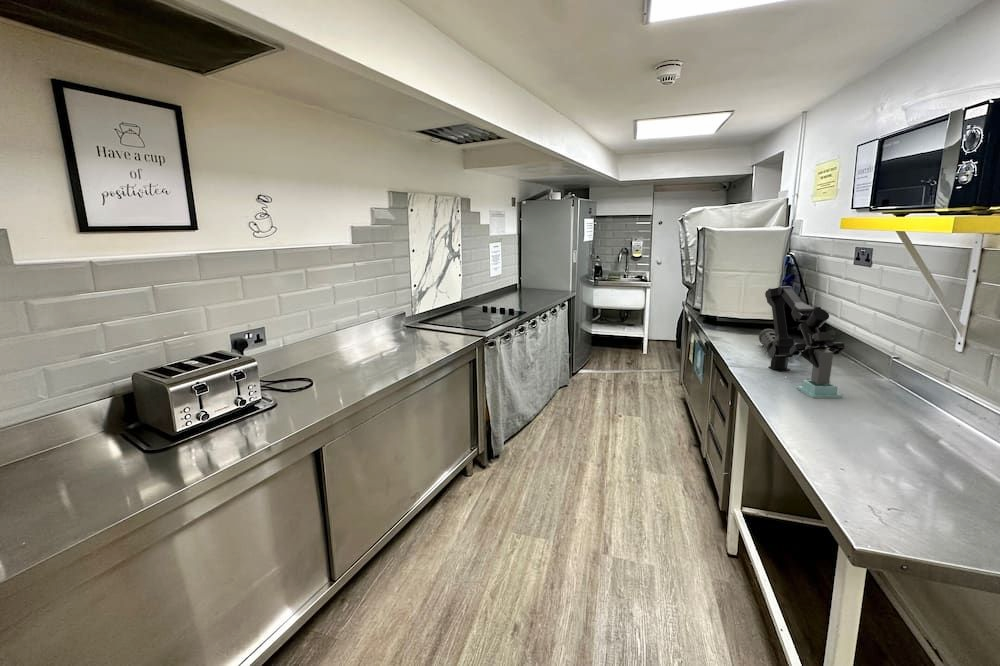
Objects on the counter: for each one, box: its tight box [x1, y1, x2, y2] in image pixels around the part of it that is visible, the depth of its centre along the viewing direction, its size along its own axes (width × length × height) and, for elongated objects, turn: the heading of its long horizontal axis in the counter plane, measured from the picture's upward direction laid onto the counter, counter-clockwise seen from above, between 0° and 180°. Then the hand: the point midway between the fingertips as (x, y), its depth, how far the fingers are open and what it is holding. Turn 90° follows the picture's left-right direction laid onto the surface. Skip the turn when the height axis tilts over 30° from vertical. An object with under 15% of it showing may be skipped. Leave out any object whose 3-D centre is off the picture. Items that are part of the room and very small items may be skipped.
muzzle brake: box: [758, 328, 776, 353], centre depth 239 cm, size 10×28×10 cm, turn 158°
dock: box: [796, 379, 843, 399], centre depth 181 cm, size 11×11×4 cm
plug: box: [810, 349, 834, 384], centre depth 179 cm, size 4×4×13 cm
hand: (824, 367), depth 177 cm, fingers closed on plug, 4 cm apart
